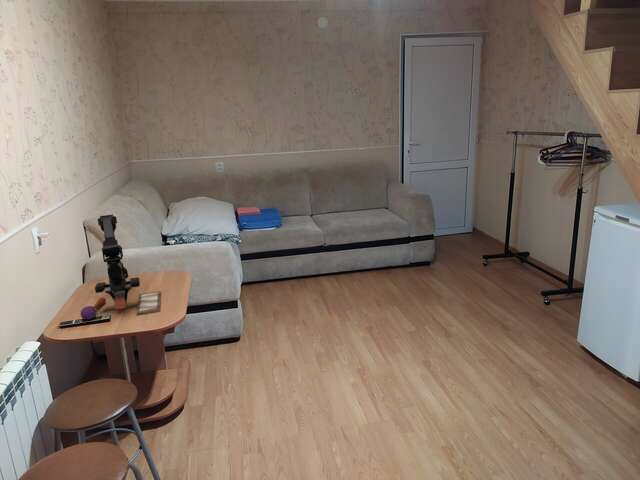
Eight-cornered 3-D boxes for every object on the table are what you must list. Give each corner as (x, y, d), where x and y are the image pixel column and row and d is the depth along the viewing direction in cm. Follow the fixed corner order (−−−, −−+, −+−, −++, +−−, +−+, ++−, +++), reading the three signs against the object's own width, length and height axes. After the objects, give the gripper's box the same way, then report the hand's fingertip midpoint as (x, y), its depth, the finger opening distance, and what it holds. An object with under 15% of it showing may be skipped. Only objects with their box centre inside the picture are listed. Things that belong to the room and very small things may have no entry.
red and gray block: (118, 300, 221) (116, 291, 220) (127, 299, 222) (125, 290, 221) (115, 309, 211) (114, 300, 210) (125, 307, 212) (123, 298, 211)
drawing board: (139, 296, 230) (139, 293, 230) (160, 292, 233) (160, 290, 233) (136, 315, 208) (136, 313, 208) (160, 311, 211) (159, 309, 211)
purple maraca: (108, 295, 223) (92, 309, 204) (108, 307, 224) (92, 322, 205) (96, 294, 223) (78, 308, 203) (95, 305, 224) (78, 321, 204)
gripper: (90, 279, 202) (97, 312, 206) (135, 272, 207) (141, 305, 212) (94, 271, 212) (100, 302, 217) (137, 265, 217) (142, 296, 222)
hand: (121, 302), depth 216 cm, fingers closed on red and gray block, 4 cm apart
